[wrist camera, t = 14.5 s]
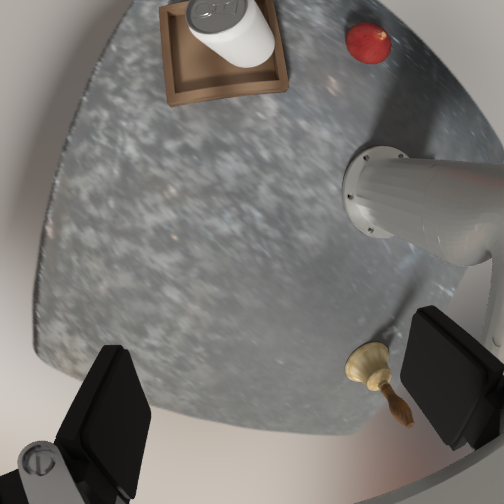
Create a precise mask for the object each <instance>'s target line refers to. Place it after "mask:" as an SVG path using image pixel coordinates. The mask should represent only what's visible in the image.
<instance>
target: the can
mask: <svg viewBox="0 0 504 504" xmlns="http://www.w3.org/2000/svg"><path fill="white" fill-rule="evenodd" d="M185 19H186V22H187V24H188V25H189V29H190V31H191V32H192V34H193V35H194V36H195V37H196V38H198V39H199V40H200V41H201V42H203V43H204V44H205V45H207V46H208V47H210V48H211V49H212V50H214V51H215V52H216V53H218V54H219V55H220V56H222V57H223V58H224V59H226V60H227V61H228V62H230V63H231V64H233V65H235V66H238V67H242V68H250V67H255V66H258V65H260V64H262V63H263V62H265V61H266V60H267V59H268V58H269V57H270V56H271V54H272V53H273V50H274V47H275V39H274V36H273V33H272V31H271V29H270V27H269V26H268V24H267V22H266V20H265V18H264V16H263V14H262V13H261V11H260V9H259V7H258V5H257V4H256V2H255V1H254V0H189V2H188V4H187V6H186V9H185Z"/></svg>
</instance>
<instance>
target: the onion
mask: <svg viewBox="0 0 504 504" xmlns="http://www.w3.org/2000/svg"><path fill="white" fill-rule="evenodd" d="M345 42H346V45H347V50H348V51H349V53H350V54H351V55H352V56H353V57H354V58H355V59H356V60H358V61H360V62H363V63H366V64H377V63H380V62H383V61H384V60H385V59H386V58H387V57H388V55H389V54H390V52H391V46H392V44H391V39H390V37H389V35H388V33H387V32H386V31H385V30H384V29H383V28H382V27H380V26H378V25H376V24H374V23H359V24H357V25H354V26H353V27H352V28H351V29H350V30H349V31H348V33H347V35H346V41H345Z"/></svg>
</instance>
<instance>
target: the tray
mask: <svg viewBox="0 0 504 504" xmlns="http://www.w3.org/2000/svg"><path fill="white" fill-rule="evenodd" d="M254 1H255V2H256V4H257V5H258V7H259V9H260V11H261V13H262V14H263V16H264V18H265V20H266V22H267V24H268V26H269V27H270V29H271V31H272V33H273V36H274V39H275V47H274V50H273V53H272V54H271V56H270V57H269V58H268V59H267V60H266V61H265V62H263V63H262V64H260V65H258V66H255V67H250V68H242V67H238V66H235V65H233V64H231V63H230V62H228V61H227V60H226V59H224V58H223V57H222V56H220V55H219V54H218V53H216V52H215V51H214V50H212V49H211V48H210V47H208V46H207V45H205V44H204V43H203V42H201V41H200V40H199V39H198V38H196V37H195V36H194V35H193V34H192V32H191V31H190V29H189V25H188V24H187V22H186V19H185V9H186V6H187V4H188V2H189V1H186V2H181V3H176V4H171V5H166V6H161V7H159V18H160V32H161V45H162V57H163V68H164V78H165V87H166V96H167V104H168V105H169V106H170V107H175V106H180V105H185V104H191V103H197V102H202V101H209V100H215V99H222V98H230V97H237V96H246V95H256V94H267V93H279V92H286V91H287V89H288V88H289V82H288V76H287V70H286V64H285V59H284V53H283V48H282V42H281V37H280V32H279V27H278V22H277V17H276V12H275V7H274V2H273V0H254Z"/></svg>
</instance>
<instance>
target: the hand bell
mask: <svg viewBox="0 0 504 504" xmlns="http://www.w3.org/2000/svg"><path fill="white" fill-rule="evenodd" d="M388 358H389V352H388V349H387V347H386V346H385V345H384V344H382V343H379V342H371V343H367V344H365V345H363V346H361V347H359V348H358V349H357V350H355V351H354V352H353V353H352V354H351V356H350V357H349V359H348V361H347V363H346V366H345V372H346V375H347V377H348V378H349V379H351V380H353V381H357V382H363V383H364V384H365V385H366V386H367V387H368V388H369V389H370V390H379V389H380V391H381V392H382V393H383V395H384V396H385V397H386V399H387V400H388V403H389V408H390V411H391V413H392V415H393V416H394V418H395V419H396V420H397V421H398V422H399V423H400V424H402V425H404V426H405V427H406V428H408V429H409V428H411V427H412V426H413V425H414V421H413V417H412V412H411V409H410V408H409V406H408V405H407V403H406V402H405V401H404V400H403V399H402V398H400V397H398V396H397V395H396V394H395V392H394V391H393V389H392V387H391V386H390V384H389V381H390V379H391V376H392V374H391V371H390V369H389V367H388V364H387V362H388Z"/></svg>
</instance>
